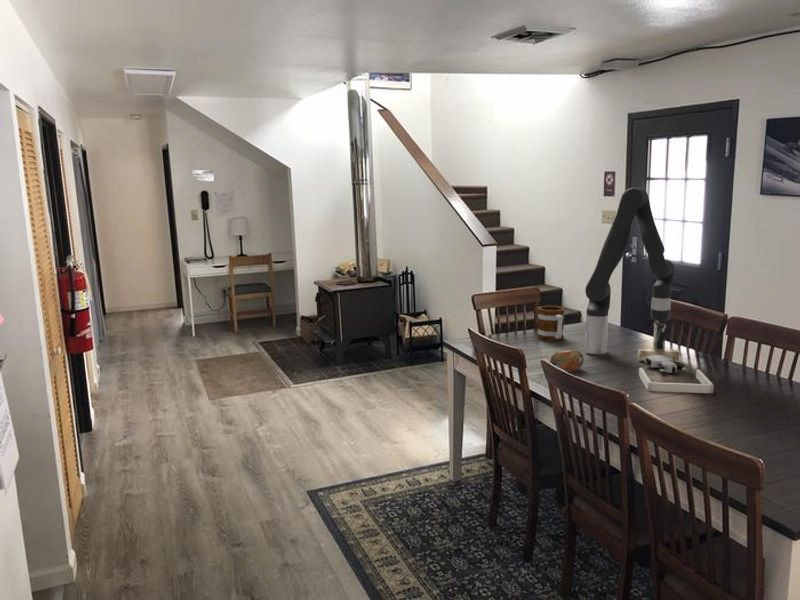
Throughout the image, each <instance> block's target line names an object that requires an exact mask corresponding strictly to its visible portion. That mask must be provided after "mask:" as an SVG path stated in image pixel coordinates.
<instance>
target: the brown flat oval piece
mask: <svg viewBox="0 0 800 600" xmlns="http://www.w3.org/2000/svg"><path fill="white" fill-rule="evenodd" d="M549 359H550V360H549V364H550V363H552V364H553V365H555V366H557V367H559V368H561V369H563V370H565V371H567V372H566V373H569V372H574V371H578V370H580V369H581V367H582V366H583V364H584V355H583V353H582V352H581V351H579V350H577V349H576V350H575V349H568V350H563V351H558V352H555V353H554V354H552V356H551V357H550V358H549Z"/></svg>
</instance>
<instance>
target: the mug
mask: <svg viewBox="0 0 800 600" xmlns="http://www.w3.org/2000/svg"><path fill="white" fill-rule="evenodd" d="M564 312H565V307H564V306H559V305H543V306H538V307H537V336H536V337H537V340H539V341H543V342H561V341H564V337H565V336H564V326H565V319H564V316H565V315H564V314H565V313H564Z"/></svg>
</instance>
